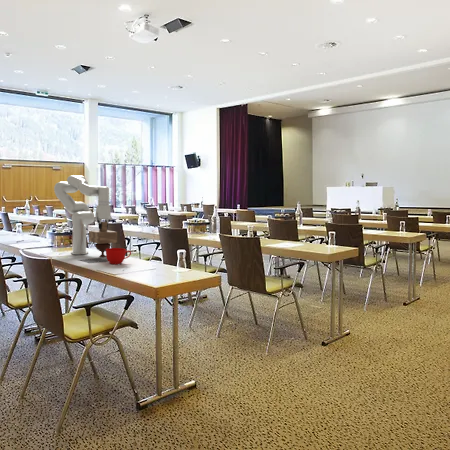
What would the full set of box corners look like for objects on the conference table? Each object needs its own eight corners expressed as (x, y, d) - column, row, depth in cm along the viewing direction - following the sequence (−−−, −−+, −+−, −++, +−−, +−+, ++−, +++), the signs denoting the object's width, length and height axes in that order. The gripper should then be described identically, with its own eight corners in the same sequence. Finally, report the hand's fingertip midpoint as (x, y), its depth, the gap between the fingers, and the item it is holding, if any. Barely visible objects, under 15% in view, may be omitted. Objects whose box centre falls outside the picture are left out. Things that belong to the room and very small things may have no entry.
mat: (77, 260, 321) (77, 259, 321) (99, 258, 333) (99, 257, 333) (89, 263, 309) (89, 263, 309) (112, 261, 320) (112, 261, 320)
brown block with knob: (88, 241, 340) (89, 221, 339) (106, 240, 350) (107, 220, 349) (98, 243, 329) (99, 222, 328) (117, 242, 339) (117, 222, 338)
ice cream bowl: (106, 258, 334) (106, 237, 333) (92, 257, 336) (92, 236, 335) (112, 256, 344) (113, 236, 343) (98, 255, 347) (99, 235, 346)
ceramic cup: (133, 264, 311) (134, 249, 310) (108, 266, 303) (108, 250, 302) (127, 261, 322) (128, 247, 321) (103, 263, 314) (103, 248, 313)
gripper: (111, 203, 346) (110, 228, 347) (90, 203, 334) (90, 228, 336) (116, 203, 341) (116, 228, 342) (95, 203, 329) (95, 229, 330)
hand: (103, 228), depth 339 cm, fingers closed on brown block with knob, 4 cm apart
